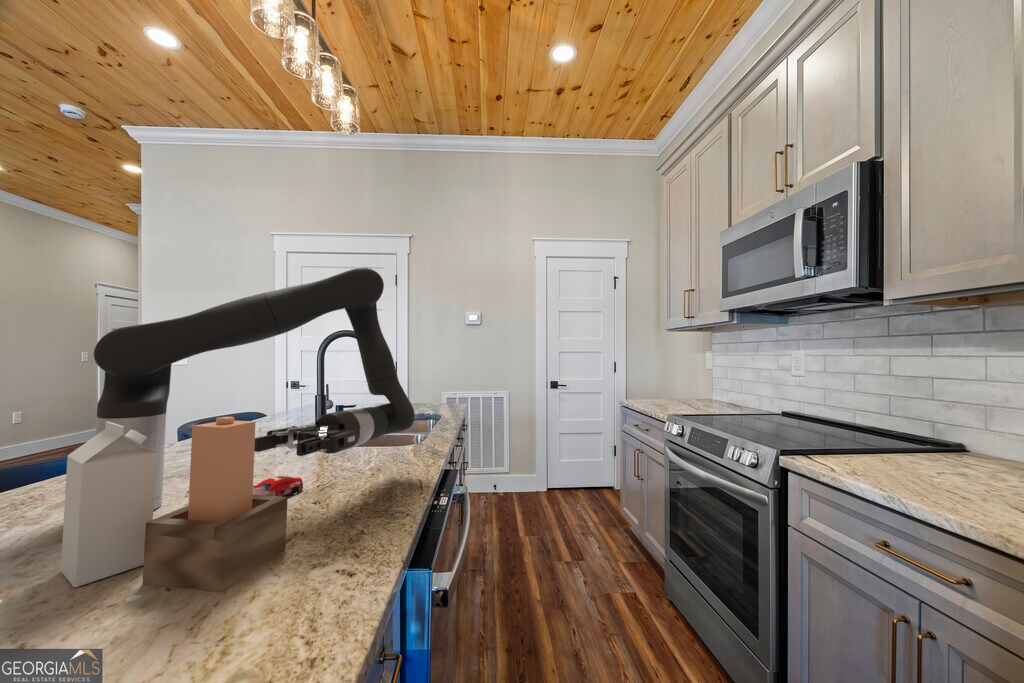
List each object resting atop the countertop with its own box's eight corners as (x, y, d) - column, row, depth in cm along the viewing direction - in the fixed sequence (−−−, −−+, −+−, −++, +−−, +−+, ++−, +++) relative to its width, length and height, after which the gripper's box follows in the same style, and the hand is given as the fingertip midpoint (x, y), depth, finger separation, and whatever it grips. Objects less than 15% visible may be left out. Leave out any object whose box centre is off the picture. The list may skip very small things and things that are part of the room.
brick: (187, 525, 52) (192, 419, 53) (221, 510, 57) (226, 414, 58) (219, 528, 51) (224, 421, 52) (251, 513, 56) (255, 415, 57)
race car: (249, 515, 72) (250, 492, 72) (227, 510, 73) (228, 488, 73) (308, 491, 84) (308, 472, 84) (288, 488, 86) (288, 469, 86)
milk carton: (74, 589, 48) (83, 430, 48) (59, 572, 51) (68, 424, 52) (151, 564, 54) (158, 423, 55) (133, 550, 57) (140, 418, 58)
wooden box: (142, 583, 49) (145, 522, 49) (218, 542, 60) (221, 492, 60) (222, 591, 48) (225, 528, 48) (285, 548, 59) (287, 496, 59)
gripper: (315, 408, 80) (242, 420, 64) (377, 412, 76) (314, 426, 61) (314, 446, 80) (240, 467, 64) (376, 451, 76) (313, 475, 60)
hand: (276, 447), depth 62 cm, fingers open, 8 cm apart
